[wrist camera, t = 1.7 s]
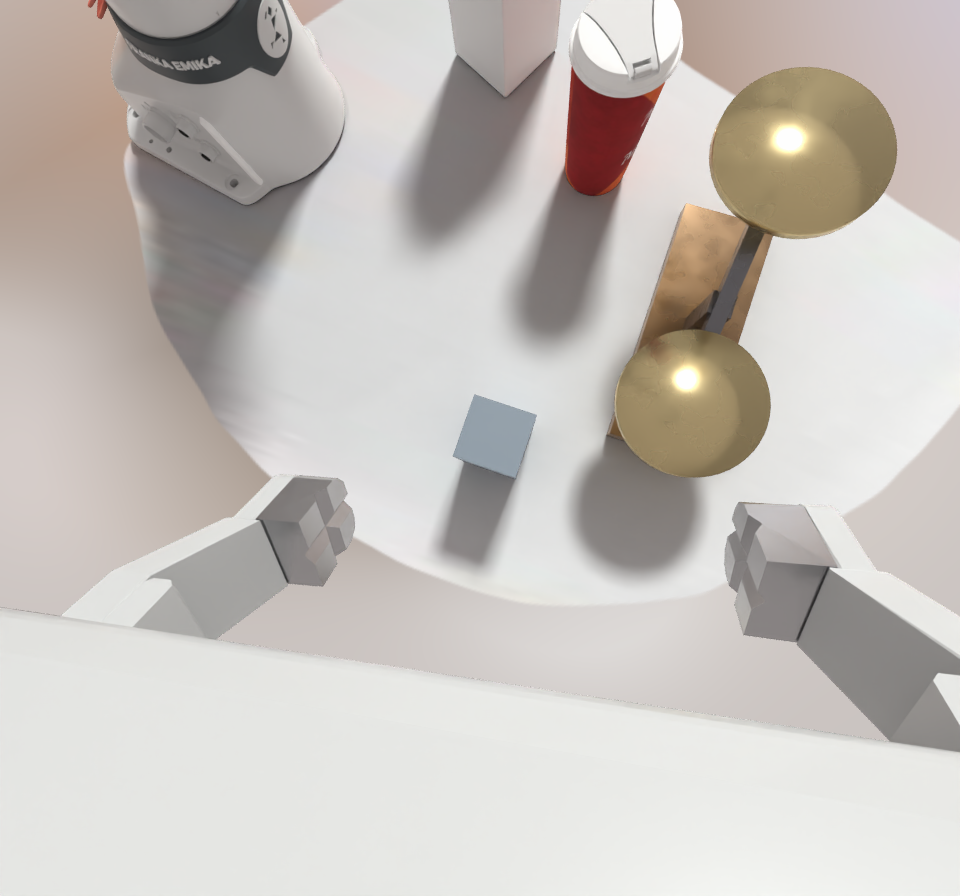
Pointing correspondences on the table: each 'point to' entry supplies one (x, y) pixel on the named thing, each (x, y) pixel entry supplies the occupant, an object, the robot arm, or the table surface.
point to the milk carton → (504, 37)
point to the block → (494, 436)
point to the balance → (745, 262)
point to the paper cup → (616, 85)
